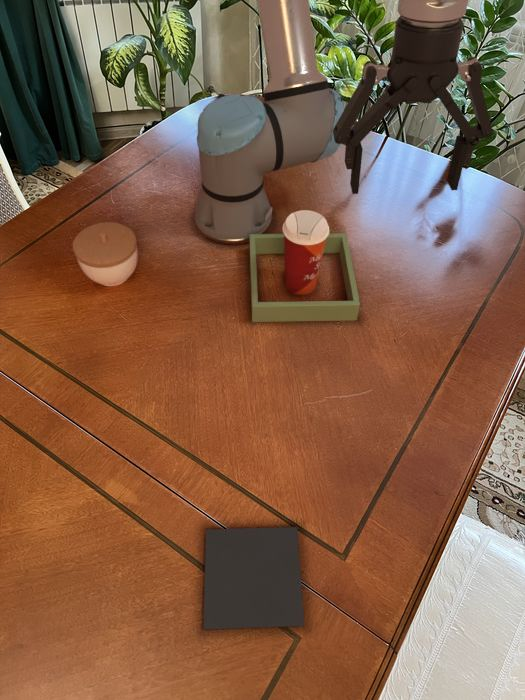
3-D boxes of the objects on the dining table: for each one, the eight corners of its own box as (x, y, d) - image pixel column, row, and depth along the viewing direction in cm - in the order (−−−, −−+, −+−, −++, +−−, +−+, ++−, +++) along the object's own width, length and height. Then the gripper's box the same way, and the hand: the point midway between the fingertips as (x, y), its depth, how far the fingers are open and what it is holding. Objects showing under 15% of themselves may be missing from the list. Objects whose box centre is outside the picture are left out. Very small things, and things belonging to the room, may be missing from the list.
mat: (205, 530, 75) (205, 529, 75) (296, 528, 76) (297, 526, 75) (203, 630, 68) (203, 629, 68) (304, 626, 68) (304, 625, 68)
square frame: (249, 250, 109) (249, 234, 105) (343, 249, 109) (346, 233, 106) (252, 322, 98) (252, 306, 94) (356, 320, 98) (360, 304, 95)
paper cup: (318, 302, 101) (326, 242, 90) (275, 295, 101) (278, 234, 90) (324, 272, 105) (333, 210, 94) (283, 265, 106) (287, 204, 95)
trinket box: (152, 262, 106) (145, 222, 99) (125, 302, 100) (115, 262, 92) (101, 248, 108) (90, 208, 101) (71, 286, 102) (57, 247, 94)
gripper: (322, 32, 62) (315, 204, 77) (553, 23, 62) (501, 197, 77) (316, 11, 67) (311, 176, 82) (529, 3, 67) (484, 170, 82)
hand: (402, 187), depth 80 cm, fingers open, 13 cm apart
